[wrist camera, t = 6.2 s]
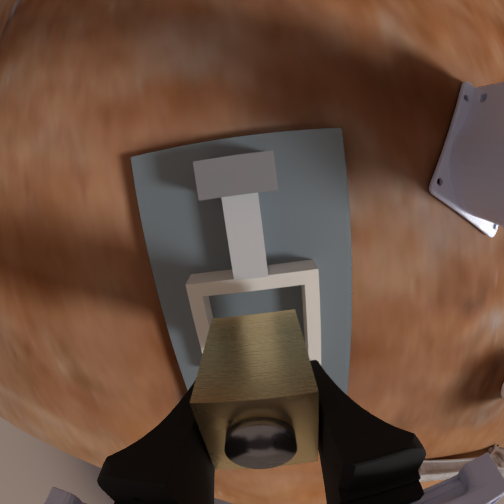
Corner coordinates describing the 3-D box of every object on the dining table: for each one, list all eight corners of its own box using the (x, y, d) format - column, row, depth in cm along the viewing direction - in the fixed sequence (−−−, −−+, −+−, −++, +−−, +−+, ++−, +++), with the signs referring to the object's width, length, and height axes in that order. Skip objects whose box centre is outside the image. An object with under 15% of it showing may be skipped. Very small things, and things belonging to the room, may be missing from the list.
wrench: (398, 444, 29) (510, 441, 28) (391, 452, 30) (504, 447, 29) (411, 490, 21) (525, 468, 21) (402, 497, 22) (518, 475, 21)
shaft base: (138, 157, 17) (107, 157, 13) (335, 129, 16) (359, 121, 12) (205, 423, 23) (199, 459, 19) (341, 409, 22) (352, 444, 18)
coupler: (294, 309, 14) (322, 404, 8) (299, 373, 15) (319, 472, 9) (211, 318, 14) (186, 416, 8) (226, 382, 15) (214, 480, 9)
